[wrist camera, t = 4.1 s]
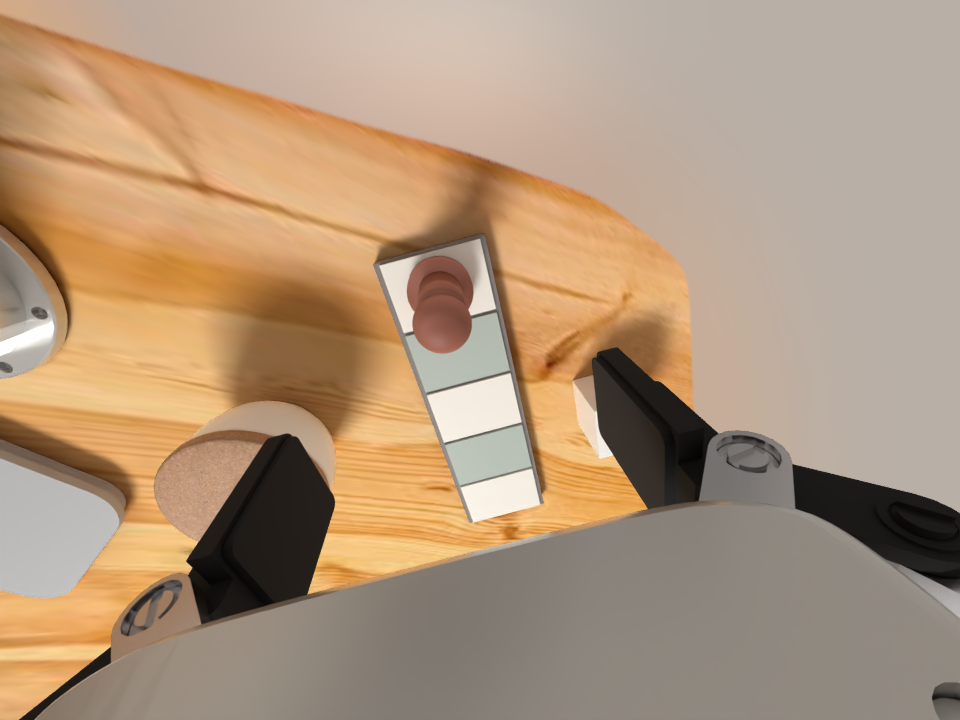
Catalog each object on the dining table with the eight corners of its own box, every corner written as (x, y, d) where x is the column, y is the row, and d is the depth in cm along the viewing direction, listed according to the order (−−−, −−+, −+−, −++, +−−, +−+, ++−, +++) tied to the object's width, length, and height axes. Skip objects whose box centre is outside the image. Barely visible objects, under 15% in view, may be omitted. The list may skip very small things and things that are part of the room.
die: (572, 380, 32) (594, 412, 28) (625, 365, 32) (657, 395, 28) (578, 423, 34) (599, 459, 30) (628, 409, 34) (657, 444, 30)
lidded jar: (223, 473, 32) (150, 575, 24) (210, 369, 28) (114, 450, 19) (347, 481, 34) (319, 577, 26) (353, 386, 30) (322, 465, 22)
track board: (375, 261, 26) (372, 265, 25) (483, 232, 26) (485, 235, 25) (468, 514, 38) (469, 524, 37) (541, 495, 38) (544, 504, 37)
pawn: (398, 265, 25) (382, 304, 17) (463, 248, 25) (476, 279, 17) (419, 325, 27) (413, 385, 19) (478, 309, 27) (496, 363, 19)
